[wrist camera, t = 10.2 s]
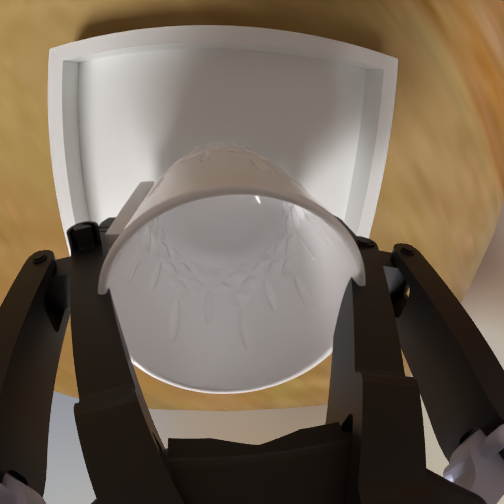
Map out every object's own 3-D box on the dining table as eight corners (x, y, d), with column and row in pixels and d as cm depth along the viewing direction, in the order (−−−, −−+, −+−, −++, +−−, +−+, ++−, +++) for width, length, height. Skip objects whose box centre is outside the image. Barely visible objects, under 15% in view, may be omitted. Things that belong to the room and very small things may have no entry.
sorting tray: (71, 53, 12) (49, 48, 10) (373, 60, 15) (398, 58, 13) (103, 305, 22) (94, 330, 20) (330, 299, 25) (342, 322, 23)
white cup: (150, 131, 14) (68, 191, 5) (293, 133, 15) (397, 194, 7) (158, 257, 18) (131, 394, 9) (279, 255, 19) (330, 383, 11)
